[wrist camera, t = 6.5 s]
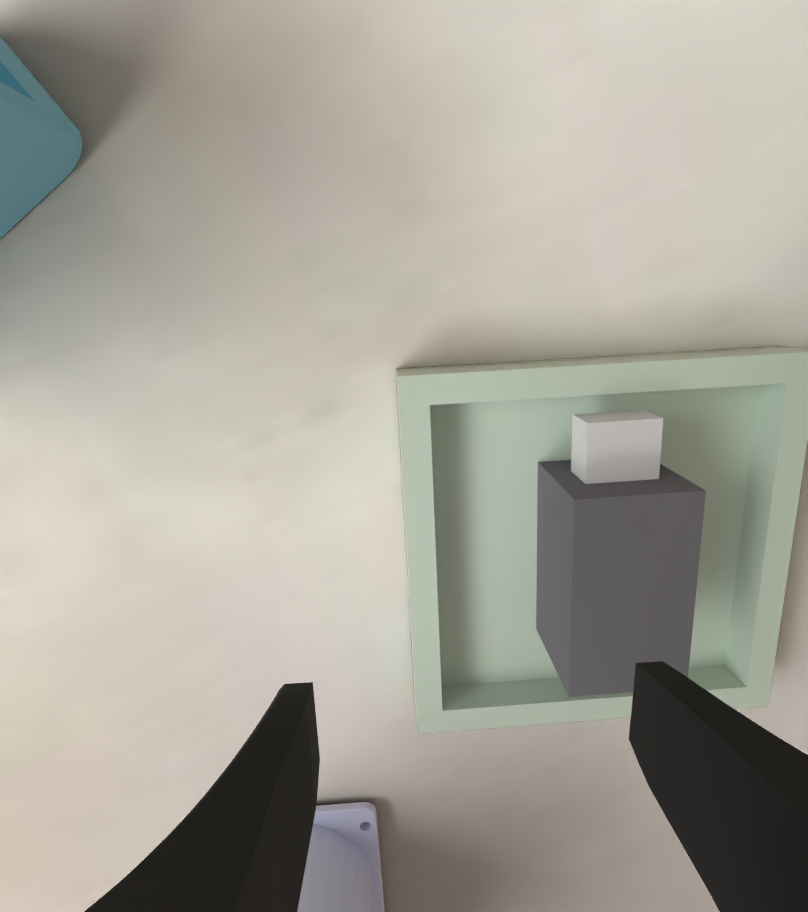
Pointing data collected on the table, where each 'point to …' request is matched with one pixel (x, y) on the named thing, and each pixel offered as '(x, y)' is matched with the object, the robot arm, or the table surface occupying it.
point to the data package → (30, 141)
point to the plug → (615, 554)
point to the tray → (515, 519)
